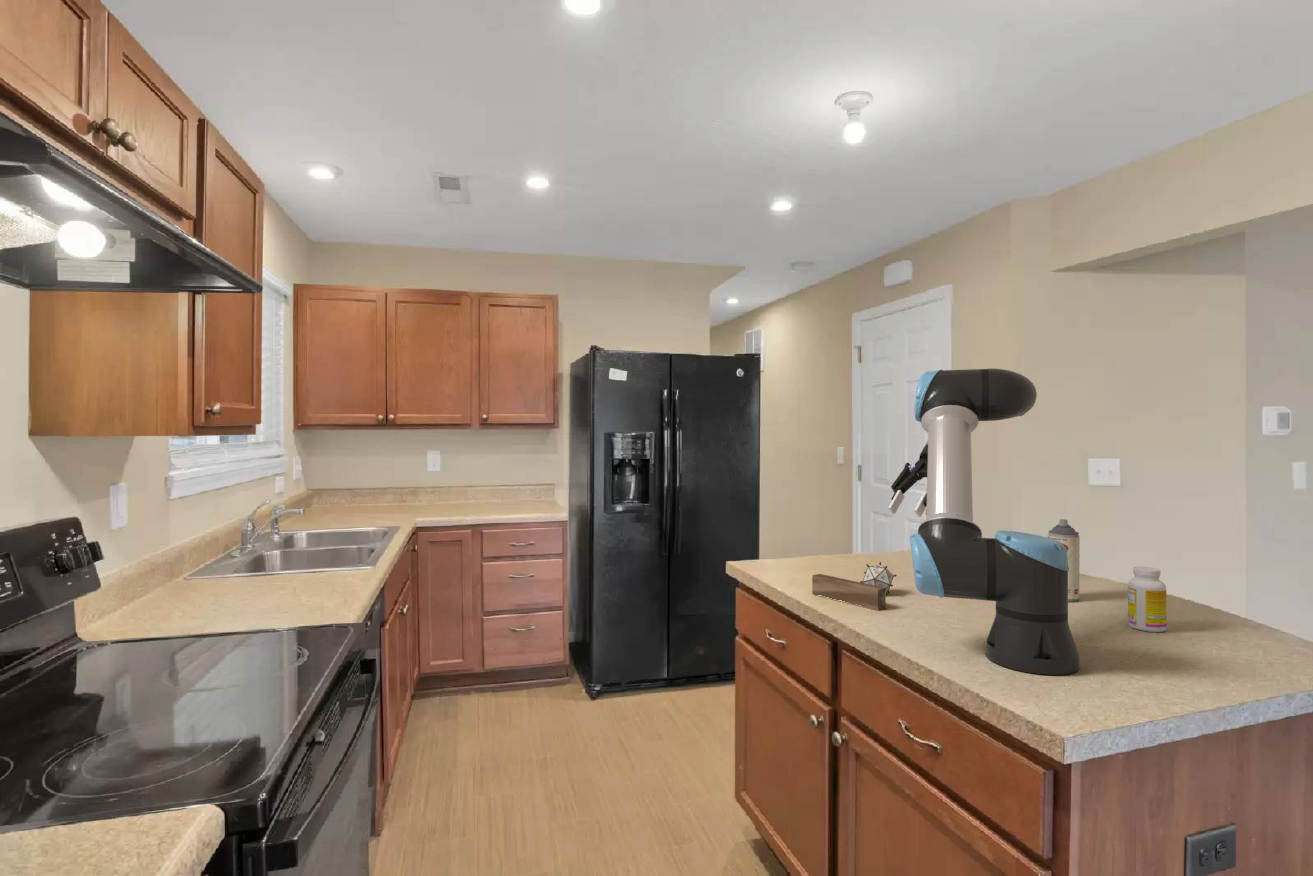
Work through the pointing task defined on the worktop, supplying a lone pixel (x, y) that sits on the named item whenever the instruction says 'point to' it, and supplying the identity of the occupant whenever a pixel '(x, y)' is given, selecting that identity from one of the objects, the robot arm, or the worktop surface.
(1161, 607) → the supplement bottle
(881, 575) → the game die
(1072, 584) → the aerosol can
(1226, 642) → the worktop surface
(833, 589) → the rail
